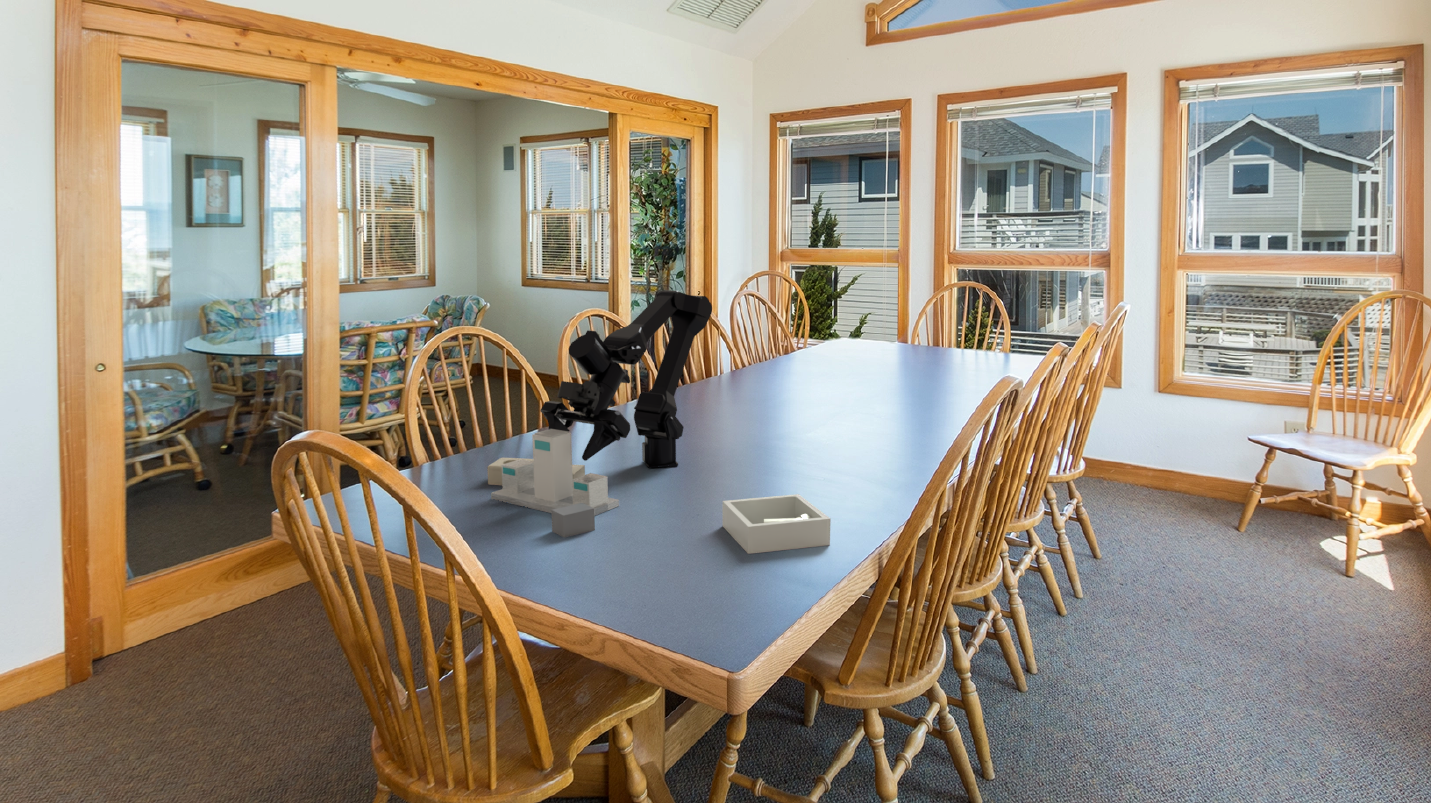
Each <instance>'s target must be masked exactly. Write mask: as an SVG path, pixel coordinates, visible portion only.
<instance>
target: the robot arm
mask: <svg viewBox="0 0 1431 803" xmlns="http://www.w3.org/2000/svg"><path fill="white" fill-rule="evenodd" d="M712 312H713V305H712V303H711V301H710V300H709V298H708V296H705V295H693V294H692V295H690V294H686V293H684V292H682V291H680V290H670V289H669V290H668V289H667V290H666V289H664V290H660V291H659V292H657V294H656V297H655V298H654V299H653V300H652V301H651V302H650V303H649V304H648V306H646V308H644V310H642V311H641V312H640V314H639V315H638V316H637V317H636V318H635V319H634V320H633V321H632V322H630V324H628V325H626V326H624V327H621V328H618V329H616V330H614V331H612V332H611V333H609V334H608V335H607V336H606V337H605V338H604V340H603V339H601V337H600V335H599V334H598V332H597V331H595V330H590V329H589V330H587V331H586V332H585V334H583V335H580V336H579V337H577V338H575V340H573V341H572V342H571V343H570V345H569V348H568V354H569V356H570V357H571V358H572V359H573V361H574V362H575V363H576V364H577V365H578V366H579V367H580V368H581V370H582V371H583V372H584V373H585V374H586V375H590V378H589V379H588V380H585V381H584V383H583V382H582V383H578V382H571V381H564V380H562V381H560V386H559V389H558V391H557V392H558V393H557V398H558V399H564V400H566V401H568V403H567V404H568V405H569V407H571V408H573V410H569V408H567V406H566V405H565V404H564V403H563V402H560V401H553V400H548V401H544V403H543V405H542V407H541V408H540V413H542V414H543V417H544V418H545V420H546V421H547V424H548V429H547V430H549V429H556V430H562V431H568V432H569V433H570V429H568V428H570V427H572V426H573V423H574V422H577V423H583V424H588V425H593V432H592V434H591V436H590V438H589V441H588V443H587V444H586V447H585V449H584V451H583V454H582V456H581V459H582V460H583V461H584V462H587V461H588V460H589V459H590V458H592V457H594V456H596V455H597V454H598V453H599V452H600V451H602V450H603V449H605V448H606V447H607V446H609V445H611V444H612V443H614V442H616V441H618V442H619V441H620V440H621V438H623V439H627V437H628V435H629V433H630V431H631V424H630V422H629V421H628V420H627V419H626V417H624V415H623V414H622V413H621V411H619V410H615V409H609V407H612V408H613V407H614V406H615V404H616V401H615V400H614V397H615V395H616V393H617V391H618V390H619V387H620V386H621V384H622V383H623V384H630V383H631V378H630V375H629V370H628V369H625V368H623V367H622V366H621V365H620V364H622V365H631V366H634V365H637V364H638V363H639V362H640V360H641V359H642V358H643V356H644V355H645V353H646V351H647V350H648V349H647V347H648V342H649V340H650V339H651V338H652V337H653V336H654V335H655V334H656V332H657V331H658V330H659V329H660V328H661V327H662V326H663V325H664V324H665V323H666V322H667V321H668V320H669V319H670V321H671V325H672V331H671V334H670V337H669V340H668V342H667V345H666V348H665V351H664V355H663V356H662V360H661V362H660V364H659V368H658V371H657V374H656V376H655V380H654V382H653V386H652V388H650V390H649V391H641V392H640V393H639V395H638V399H637V401H636V402H637V403H636V404H635V406H634V410H635V411H634V413H633V420H634V424H635V426H636V432H637V435H638V436H640V437H641V436H643V437H644V441H643V442H642V443H641V446H642V447H641V448H642V449H641V450H642V451H641V453H642V456H641V457H642V461H643V463H644V464H645V465H646V466H647V467H648V468H649V469H654V468H666V467H677V466H679V462H678V461H677V440H679V439H680V438H681V437H683V432H684V425H683V424H682V423H681V422H680V420H679V419H678V418H677V411H678V408H677V404H676V398H675V396H676V391H677V389H678V385H679V383H680V379H681V377H682V374H683V371H684V368H685V366H686V362H687V359H688V356H689V355H690V350H691V348H692V344H693V341H694V339H695V337H696V336H697V335H698V334H699V333H700V332H701V331H702V330H704V329H705V328H706V327H707V324H708V321H709V320H710V317H711V315H712Z"/></svg>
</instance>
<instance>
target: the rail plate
mask: <svg viewBox="0 0 1431 803" xmlns="http://www.w3.org/2000/svg"><path fill="white" fill-rule="evenodd" d="M501 468H502V485H501V486H502V489H498V490H495V491H493V492H490V497H491V498H490V500H493V499H495V500H494V501H498V500H499V501H498V502H502V501H503V502H502V503H506V502H508V503H507V504H510V503H511V504H510V505H515V506H519V507H523V506H525V507H524V508H527V507H528V509H532V510H536V511H541V512H545V513H549V514H551V510H552V509H557V508H561V507H566V506H570V505H574V504H579V503H583V504H586V505H588V506H590V507H592V508H594V515H595V516H598V515H601V514H604V513H605V512H608V511H610V510H613V509H615V508H618V507H619V506H620V500H619V499H617V498H613V497H612V498H611V497H609V491H608V490H609V486H608V475H602V474H597V473H592V472H590V473H587V474H586V473H585V475H583V476H581V477H578V478H575V479H572V489H573V495H572V496H570V497H567V498H564V499H561V500H559V501H556V502H553V501H548V500H544V499H540V498H535V489H534V464H533V462H532V461H527V460H522V459H519V460H516V461H513V462H509V463H506V464H502V465H501Z"/></svg>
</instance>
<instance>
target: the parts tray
mask: <svg viewBox="0 0 1431 803" xmlns="http://www.w3.org/2000/svg"><path fill="white" fill-rule="evenodd" d="M804 514H807V515H809V516H810V517H811V518H810V519H800V520H790V521H780V522H770V523H764V519H781V518H797V517H799V516H801V515H804ZM831 519H832V518H831V517H829V516H828V515H827V514H825V513H824V512H822V510H820V509H819V508H818V507H816V506H815V505H813V504H812V503H811V502H809V500H807V499H805V497H803V496H802V495H800V494H798V493H797V494H785V495H775V496H773V495H772V496H766V497H765V496H763V497H751V498H742V499H741V498H740V499H739V498H738V499H728V500H722V527H723V528H724V529H725V531H726V532H728V534H729V535H730V536H731V537H732V538H733V539H734V540H735V542H737V543H738V544H739V546H740V547H741V548H742V549H743V550H744V551H745V552H746V553H747V554H748V555H750V554H758V553H759V554H760V553H767V552H777V551H778V552H779V551H789V550H797V549H806V548H815V547H823V546H830V545H831V523H832V522H831Z"/></svg>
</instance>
